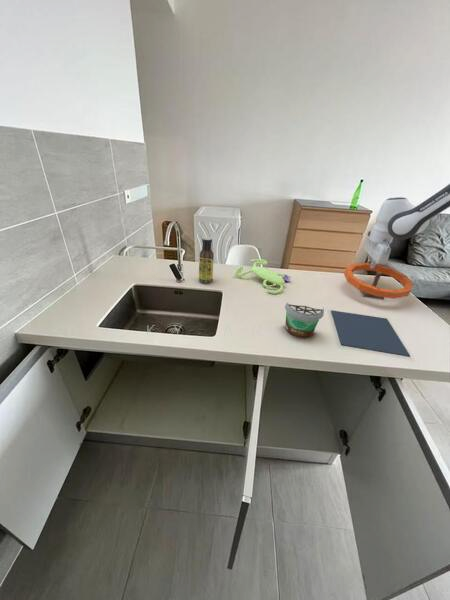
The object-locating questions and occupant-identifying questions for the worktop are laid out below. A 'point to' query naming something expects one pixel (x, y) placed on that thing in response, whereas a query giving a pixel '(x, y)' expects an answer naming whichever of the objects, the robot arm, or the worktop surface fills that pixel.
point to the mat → (367, 333)
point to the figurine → (266, 275)
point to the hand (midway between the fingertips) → (370, 266)
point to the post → (374, 286)
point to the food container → (302, 320)
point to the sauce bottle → (206, 261)
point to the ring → (374, 290)
